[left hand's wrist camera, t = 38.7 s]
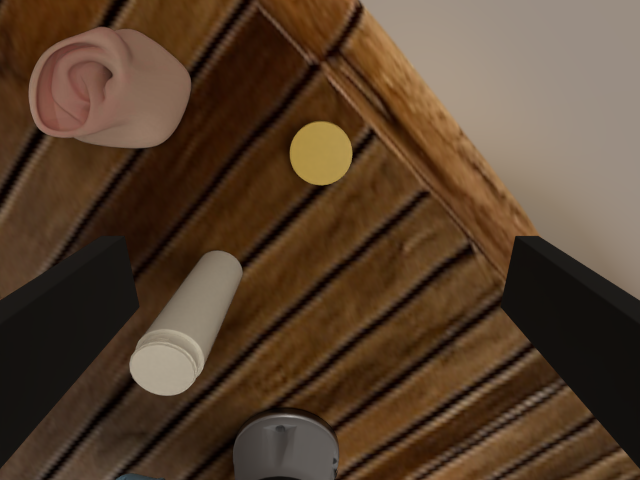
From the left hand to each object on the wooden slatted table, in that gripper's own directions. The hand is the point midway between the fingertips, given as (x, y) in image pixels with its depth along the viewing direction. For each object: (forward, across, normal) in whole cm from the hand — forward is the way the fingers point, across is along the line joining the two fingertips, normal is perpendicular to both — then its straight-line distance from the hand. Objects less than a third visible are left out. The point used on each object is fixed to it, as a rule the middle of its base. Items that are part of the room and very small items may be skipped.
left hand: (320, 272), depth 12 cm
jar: (+28, +12, +14) cm, 33 cm away
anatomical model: (+28, +20, -6) cm, 34 cm away
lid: (+26, 0, 0) cm, 26 cm away
